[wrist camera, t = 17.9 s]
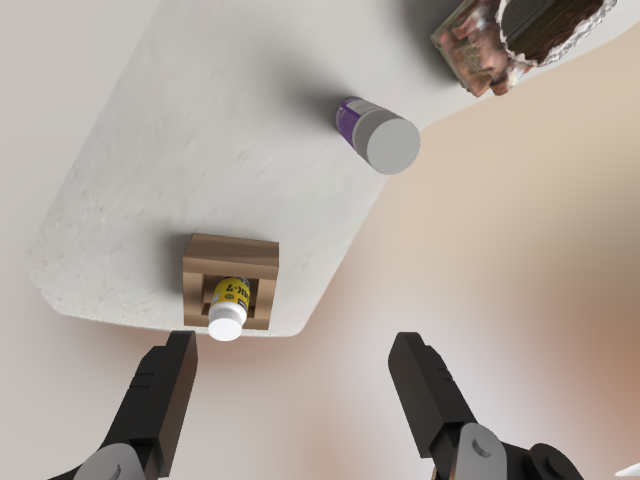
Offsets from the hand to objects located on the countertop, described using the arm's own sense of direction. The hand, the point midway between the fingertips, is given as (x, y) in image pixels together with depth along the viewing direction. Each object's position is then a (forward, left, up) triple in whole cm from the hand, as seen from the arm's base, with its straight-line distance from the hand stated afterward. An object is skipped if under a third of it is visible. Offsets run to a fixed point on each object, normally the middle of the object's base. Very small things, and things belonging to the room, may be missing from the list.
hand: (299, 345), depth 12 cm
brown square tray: (+19, -6, -30) cm, 37 cm away
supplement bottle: (+19, -6, -27) cm, 33 cm away
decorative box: (-20, +22, -30) cm, 42 cm away
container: (-5, +8, -30) cm, 32 cm away
